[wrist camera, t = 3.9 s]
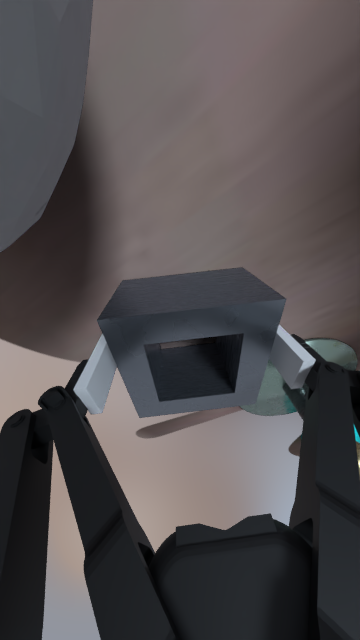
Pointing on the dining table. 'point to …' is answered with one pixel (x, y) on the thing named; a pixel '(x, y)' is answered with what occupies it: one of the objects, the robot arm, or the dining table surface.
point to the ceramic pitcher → (38, 102)
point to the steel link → (191, 323)
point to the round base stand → (285, 400)
